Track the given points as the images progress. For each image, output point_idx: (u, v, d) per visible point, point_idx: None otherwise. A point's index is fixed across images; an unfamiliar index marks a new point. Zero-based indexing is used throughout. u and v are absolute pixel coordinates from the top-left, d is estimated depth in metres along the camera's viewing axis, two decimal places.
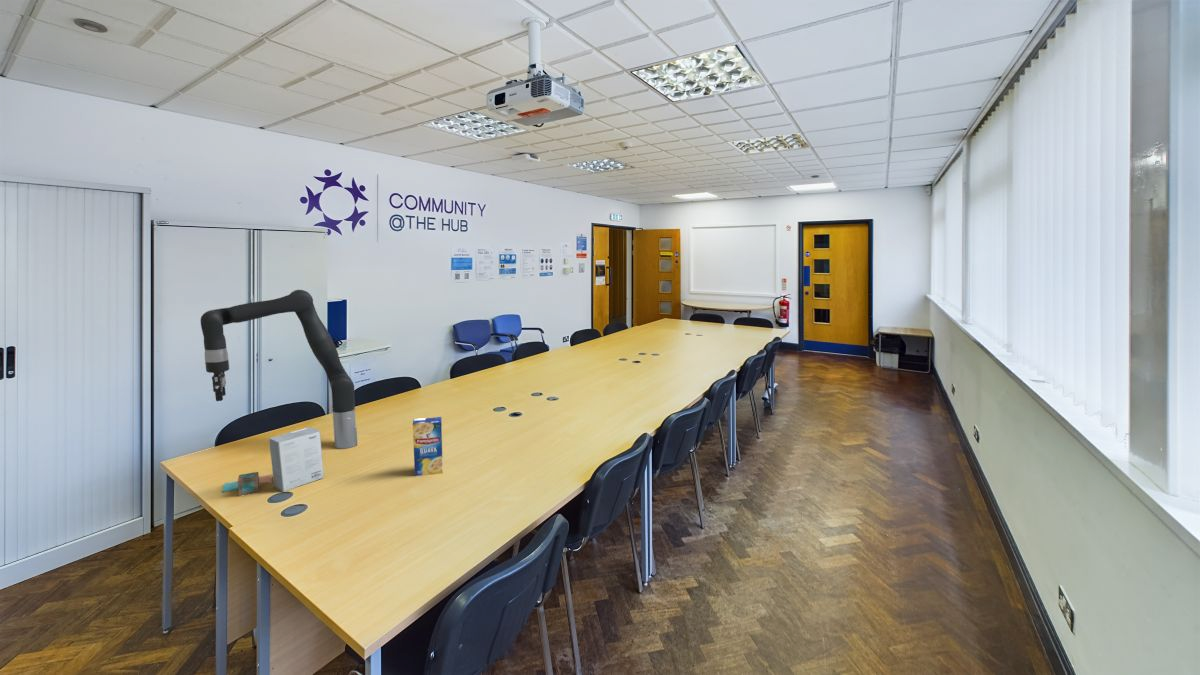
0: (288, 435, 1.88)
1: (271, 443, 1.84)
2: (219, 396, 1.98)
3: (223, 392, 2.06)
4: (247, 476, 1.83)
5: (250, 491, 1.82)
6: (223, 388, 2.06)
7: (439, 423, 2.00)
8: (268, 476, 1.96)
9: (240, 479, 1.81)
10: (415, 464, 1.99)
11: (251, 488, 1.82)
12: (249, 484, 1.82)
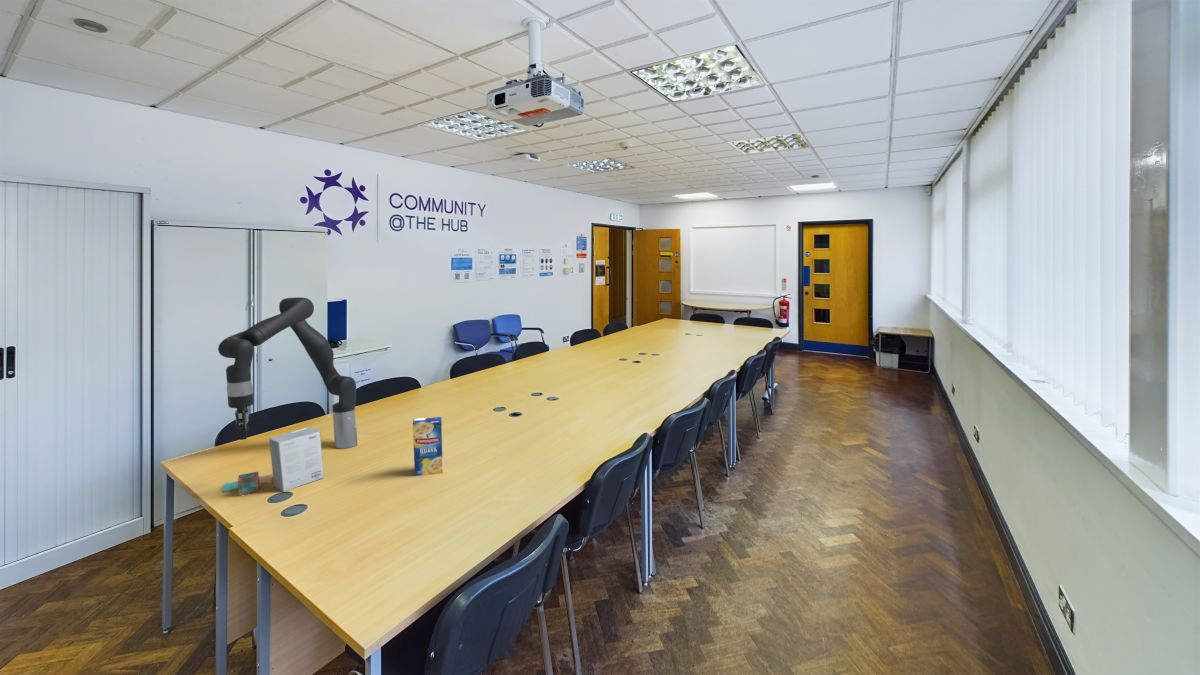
0: (288, 435, 1.88)
1: (271, 443, 1.84)
2: (243, 434, 1.77)
3: (246, 428, 1.85)
4: (247, 476, 1.83)
5: (250, 491, 1.82)
6: (246, 424, 1.84)
7: (439, 423, 2.00)
8: (268, 476, 1.96)
9: (240, 479, 1.81)
10: (415, 464, 1.99)
11: (251, 488, 1.82)
12: (249, 484, 1.82)
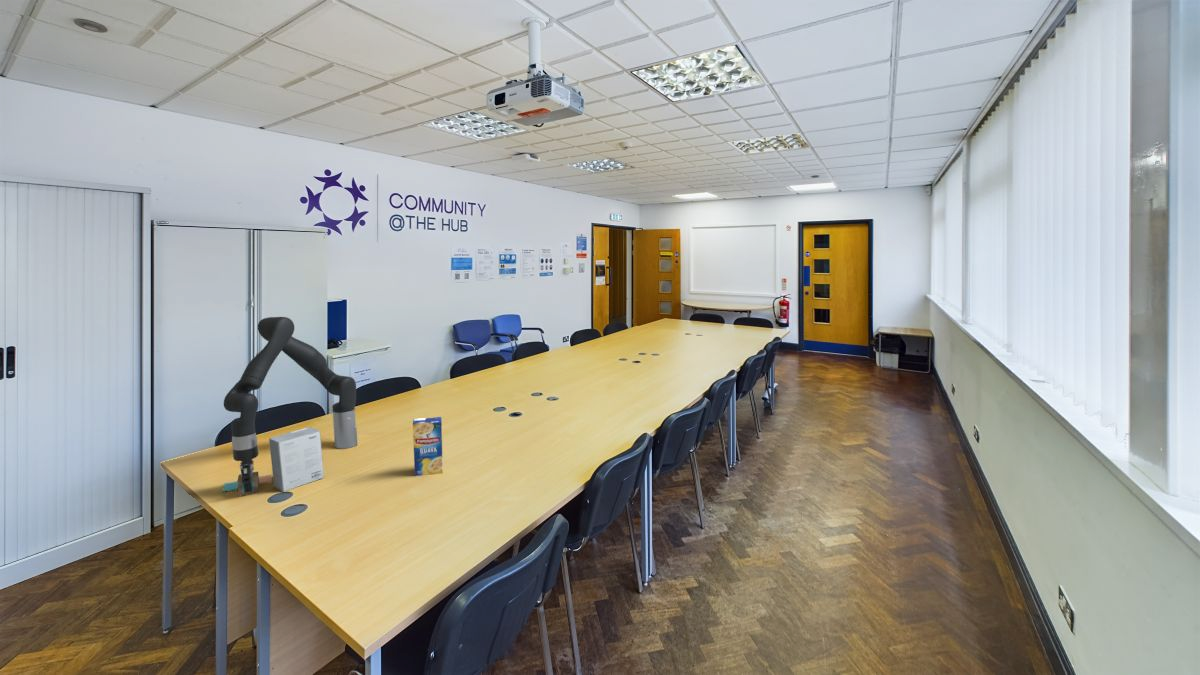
0: (288, 435, 1.88)
1: (271, 443, 1.84)
2: (248, 487, 1.81)
3: None
4: None
5: None
6: None
7: (439, 423, 2.00)
8: (268, 476, 1.96)
9: (240, 479, 1.81)
10: (415, 464, 1.99)
11: None
12: None
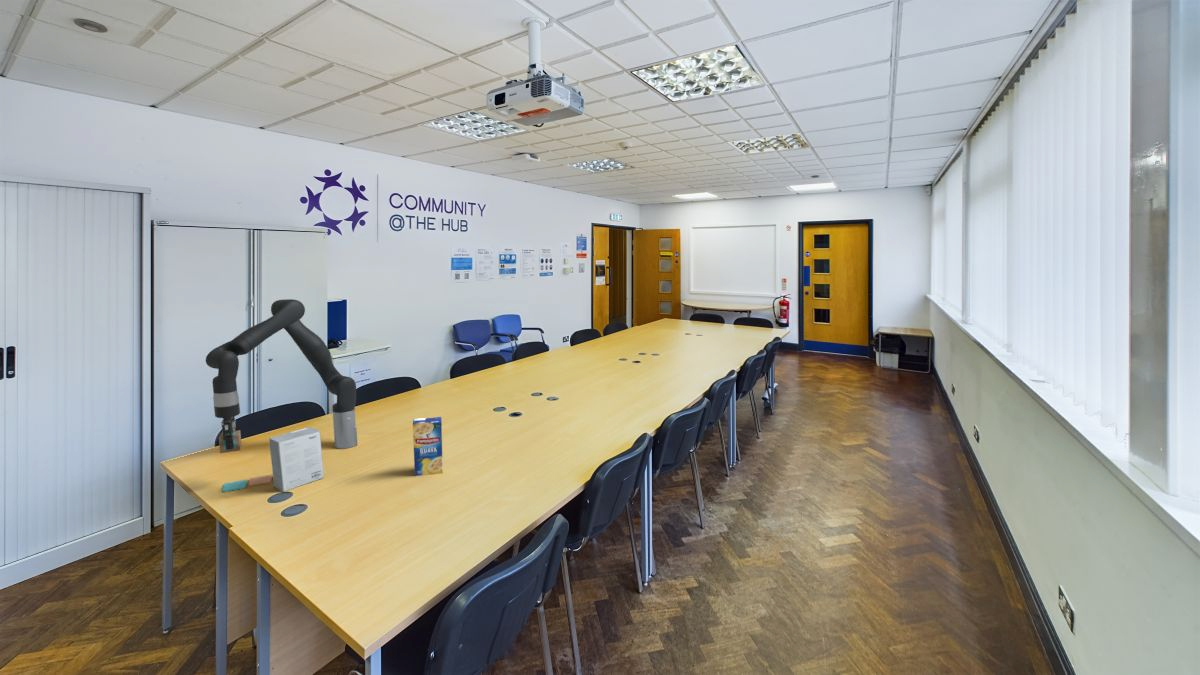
0: (288, 435, 1.88)
1: (271, 443, 1.85)
2: (230, 444, 1.82)
3: None
4: None
5: (231, 449, 1.83)
6: None
7: (439, 423, 2.00)
8: (268, 476, 1.96)
9: (221, 436, 1.82)
10: (415, 464, 1.99)
11: None
12: None
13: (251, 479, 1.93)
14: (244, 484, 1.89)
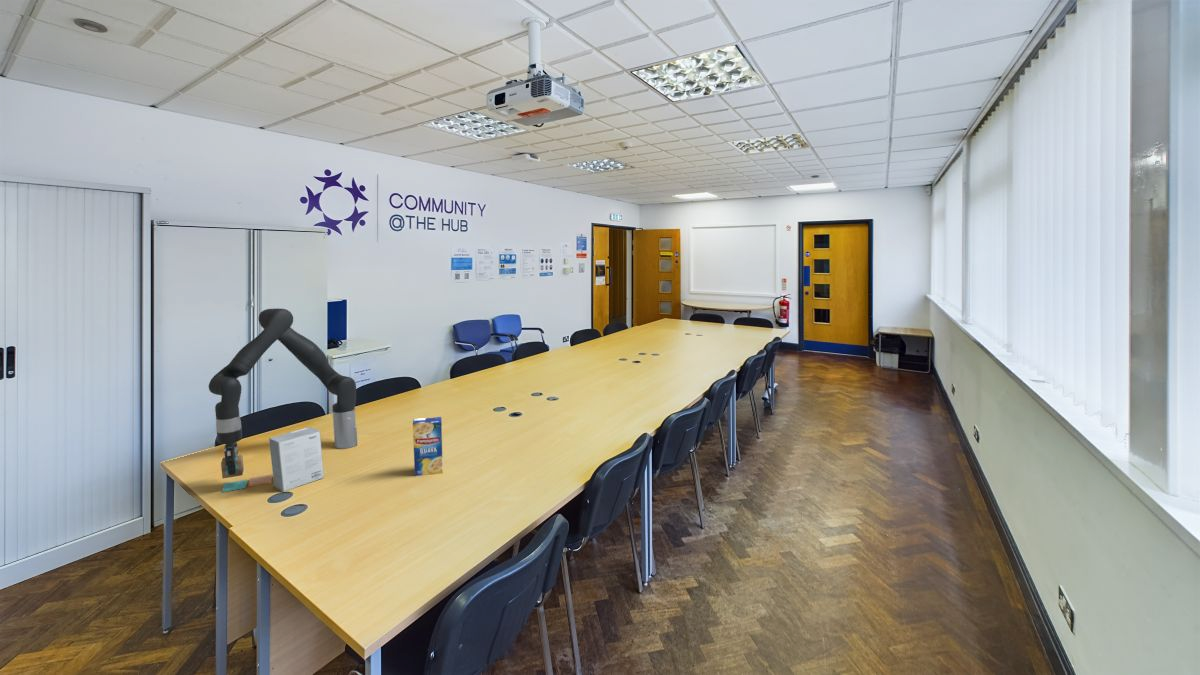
0: (288, 435, 1.88)
1: (271, 443, 1.84)
2: (232, 470, 1.83)
3: None
4: None
5: (233, 474, 1.85)
6: None
7: (439, 423, 2.00)
8: (268, 476, 1.96)
9: (223, 461, 1.83)
10: (415, 464, 1.99)
11: None
12: None
13: (251, 479, 1.93)
14: (244, 484, 1.89)
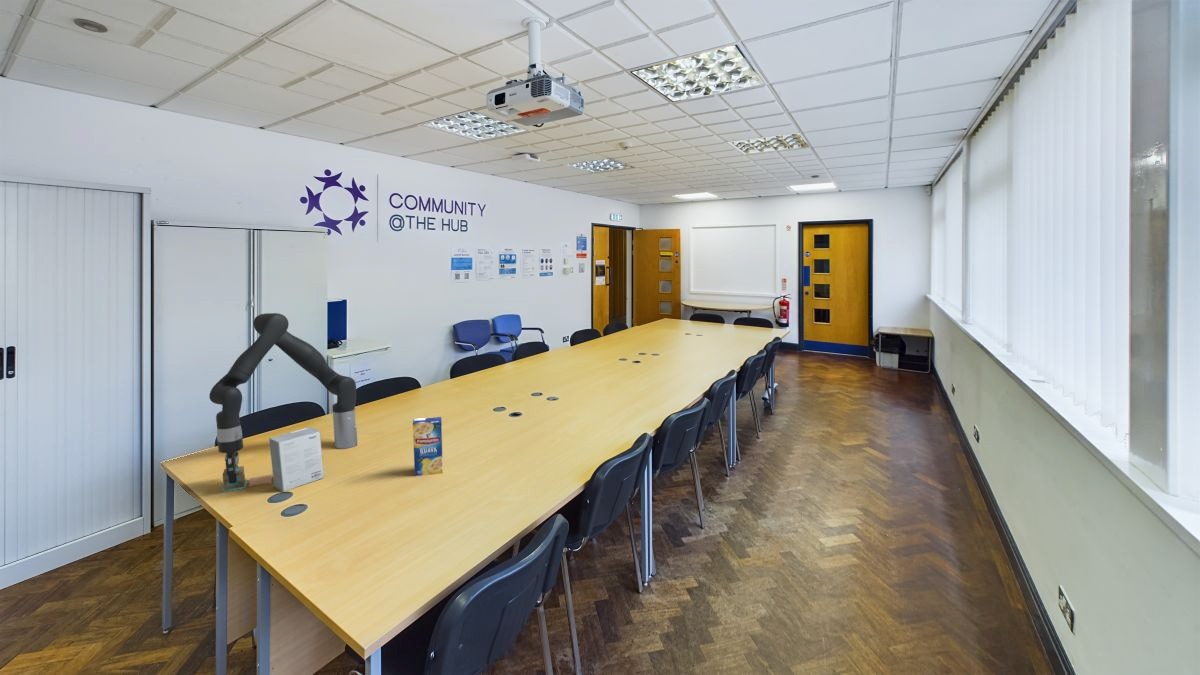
0: (288, 435, 1.88)
1: (271, 443, 1.84)
2: (233, 478, 1.83)
3: None
4: None
5: (235, 485, 1.85)
6: (236, 466, 1.91)
7: (439, 423, 2.00)
8: (268, 476, 1.96)
9: (225, 473, 1.84)
10: (415, 464, 1.99)
11: (236, 482, 1.85)
12: None
13: (251, 479, 1.93)
14: (244, 484, 1.89)
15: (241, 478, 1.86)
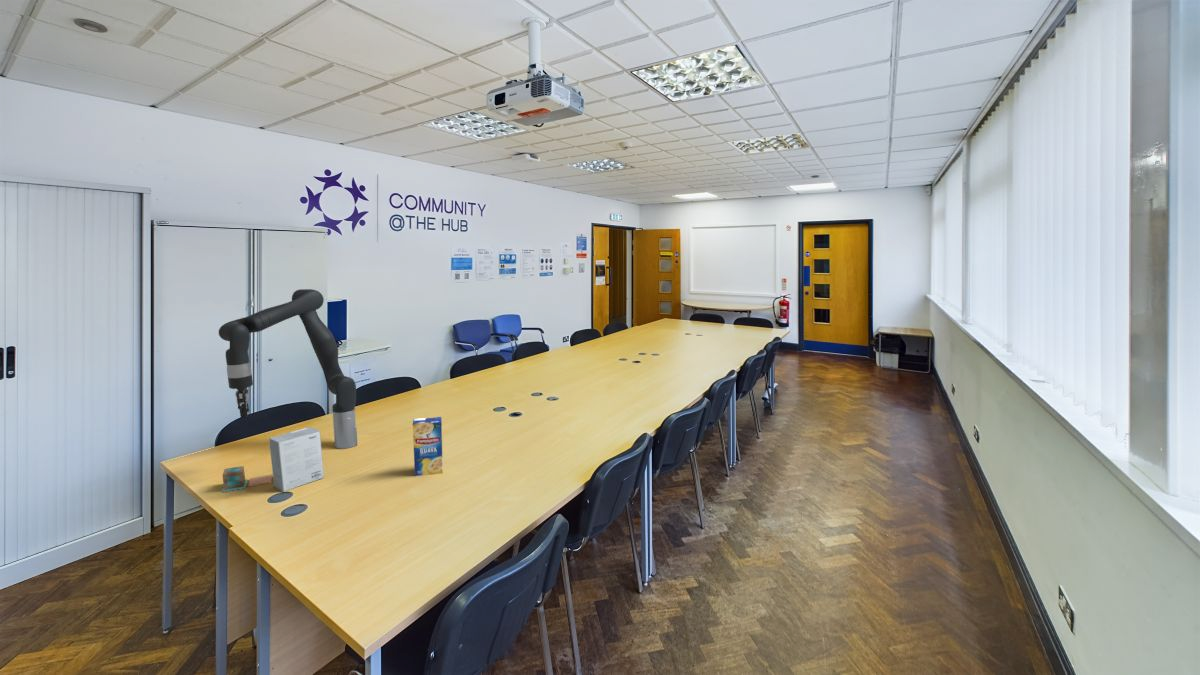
0: (288, 435, 1.88)
1: (271, 443, 1.85)
2: (244, 413, 1.87)
3: (246, 408, 1.95)
4: (232, 470, 1.86)
5: (235, 485, 1.85)
6: (246, 404, 1.95)
7: (439, 423, 2.00)
8: (268, 476, 1.96)
9: (225, 473, 1.84)
10: (415, 464, 1.99)
11: (236, 482, 1.85)
12: (234, 478, 1.85)
13: (251, 479, 1.93)
14: (244, 484, 1.89)
15: (241, 478, 1.86)
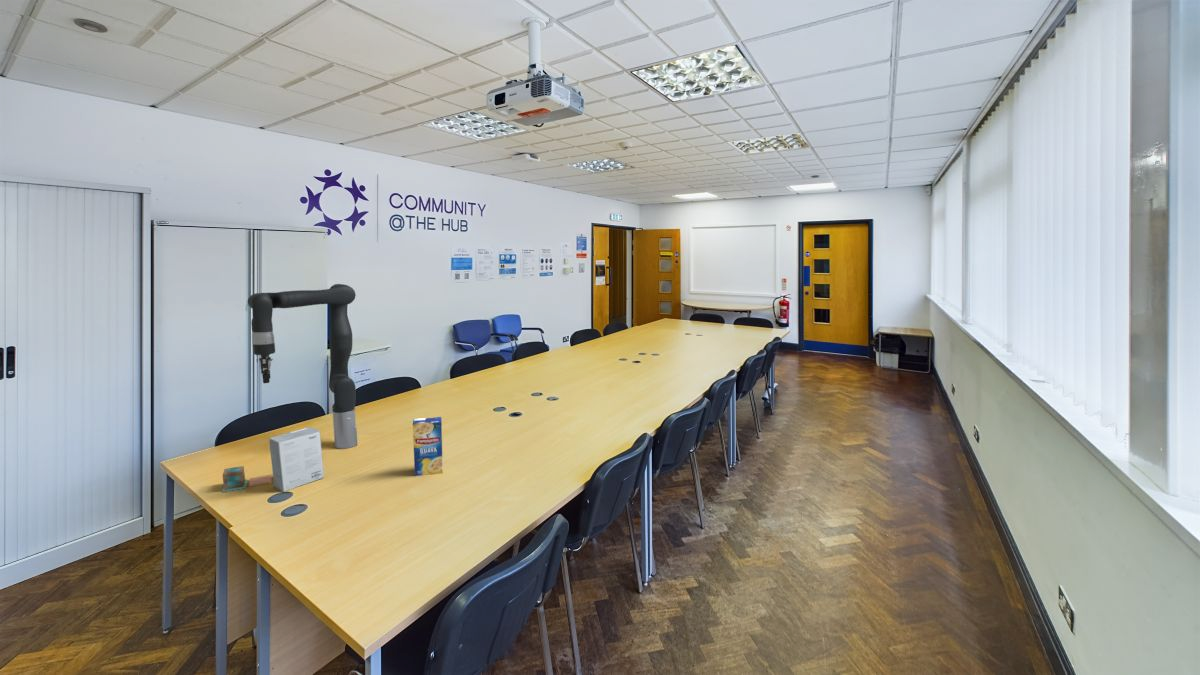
0: (288, 435, 1.88)
1: (271, 443, 1.84)
2: (266, 378, 2.00)
3: (268, 375, 2.08)
4: (232, 470, 1.86)
5: (235, 485, 1.85)
6: (268, 371, 2.07)
7: (439, 423, 2.00)
8: (268, 476, 1.96)
9: (225, 473, 1.84)
10: (415, 464, 1.99)
11: (236, 482, 1.85)
12: (234, 478, 1.85)
13: (251, 479, 1.93)
14: (244, 484, 1.89)
15: (241, 478, 1.86)
